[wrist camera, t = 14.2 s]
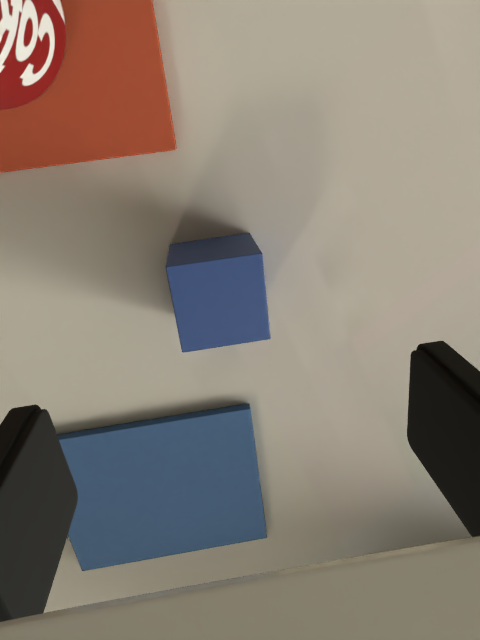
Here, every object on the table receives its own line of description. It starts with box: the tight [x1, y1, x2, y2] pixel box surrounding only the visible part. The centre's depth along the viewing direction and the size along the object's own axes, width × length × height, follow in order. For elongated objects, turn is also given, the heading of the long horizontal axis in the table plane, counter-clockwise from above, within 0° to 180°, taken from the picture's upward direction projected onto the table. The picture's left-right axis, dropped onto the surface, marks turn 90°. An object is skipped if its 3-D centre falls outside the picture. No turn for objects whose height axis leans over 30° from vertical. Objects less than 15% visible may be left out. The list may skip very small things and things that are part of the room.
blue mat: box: [57, 404, 267, 571], centre depth 30 cm, size 14×12×1 cm
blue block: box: [166, 233, 270, 352], centre depth 23 cm, size 4×4×4 cm
